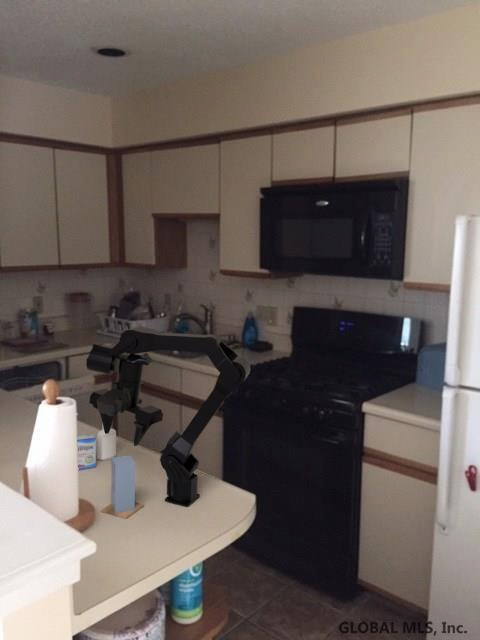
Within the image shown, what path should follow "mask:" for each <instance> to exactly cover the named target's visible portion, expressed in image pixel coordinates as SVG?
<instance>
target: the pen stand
mask: <svg viewBox="0 0 480 640" xmlns="http://www.w3.org/2000/svg"><path fill="white" fill-rule="evenodd" d="M144 507H145V503H141V502H137V501H135V510H131V511H125V512H119V513H115V511H114V509H113V507H112V505H111V503H109V504H108V505H106V506H105V507H103V508H102V509H100V512H101V513H103V514H108V515H110V516H115V517H118V518H121V519H125V520H127V519H129V518H130V517H132V516H133V515H134V514H136V513H137V512H139V511H140V510H141V509H142V508H144Z"/></svg>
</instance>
